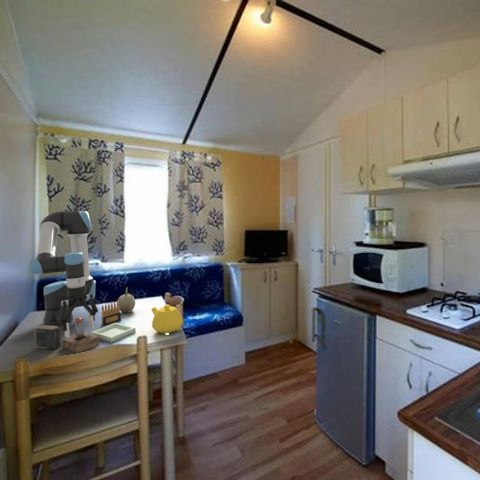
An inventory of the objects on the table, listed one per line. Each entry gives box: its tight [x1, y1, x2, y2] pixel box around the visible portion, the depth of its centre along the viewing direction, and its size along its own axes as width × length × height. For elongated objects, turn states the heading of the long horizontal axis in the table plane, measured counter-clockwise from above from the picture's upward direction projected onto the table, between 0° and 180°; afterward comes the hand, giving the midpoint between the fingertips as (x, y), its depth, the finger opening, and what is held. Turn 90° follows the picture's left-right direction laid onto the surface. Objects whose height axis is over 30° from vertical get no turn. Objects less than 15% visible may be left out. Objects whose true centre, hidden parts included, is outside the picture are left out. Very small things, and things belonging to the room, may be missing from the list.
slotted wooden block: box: [61, 331, 100, 354], centre depth 134 cm, size 12×10×4 cm
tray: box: [90, 322, 137, 343], centre depth 147 cm, size 16×14×2 cm
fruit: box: [117, 287, 136, 314], centre depth 182 cm, size 10×12×15 cm
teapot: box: [151, 304, 184, 334], centre depth 150 cm, size 20×16×14 cm
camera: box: [33, 324, 62, 350], centre depth 134 cm, size 11×6×10 cm, turn 75°
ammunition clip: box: [101, 300, 122, 327], centre depth 164 cm, size 11×2×12 cm, turn 144°
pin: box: [74, 317, 85, 341], centre depth 134 cm, size 3×3×13 cm
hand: (79, 332), depth 134 cm, fingers open, 11 cm apart
